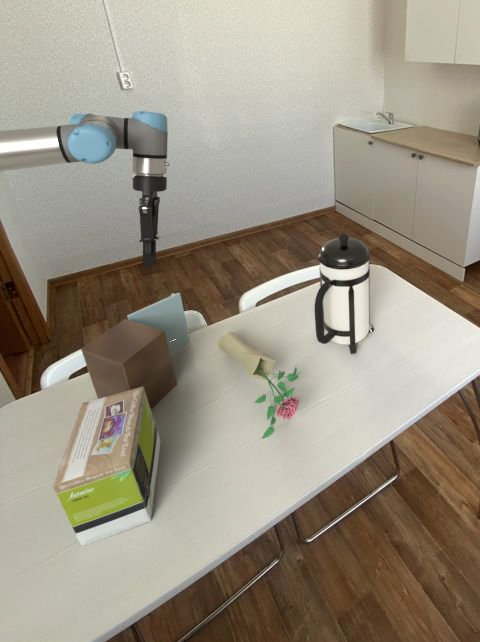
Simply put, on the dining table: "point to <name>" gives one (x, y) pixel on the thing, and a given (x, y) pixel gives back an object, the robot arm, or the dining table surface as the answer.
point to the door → (165, 320)
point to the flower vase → (262, 376)
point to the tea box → (110, 466)
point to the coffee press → (343, 292)
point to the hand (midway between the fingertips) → (149, 265)
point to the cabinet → (130, 361)
